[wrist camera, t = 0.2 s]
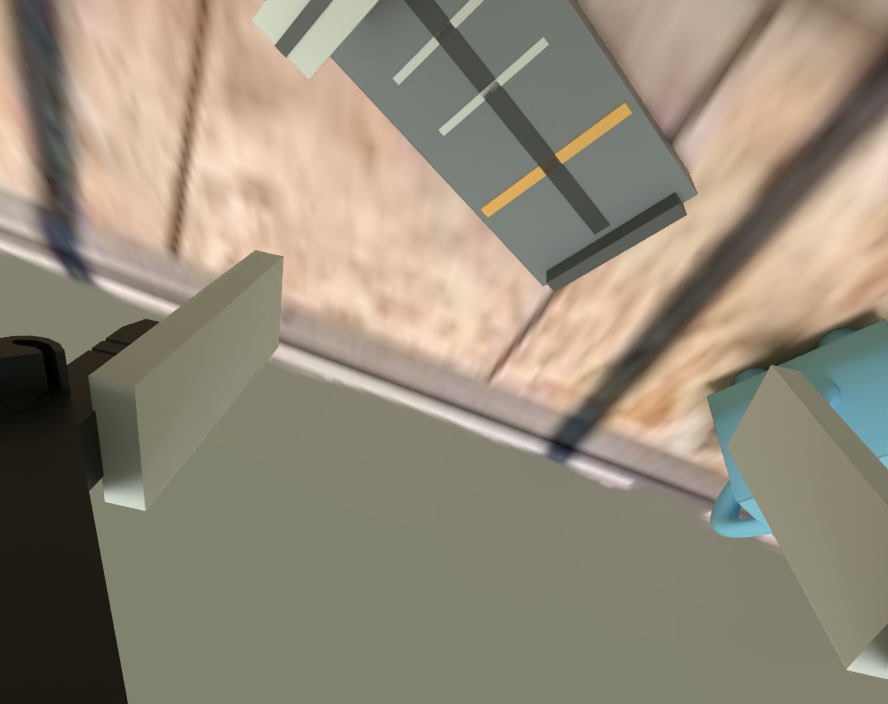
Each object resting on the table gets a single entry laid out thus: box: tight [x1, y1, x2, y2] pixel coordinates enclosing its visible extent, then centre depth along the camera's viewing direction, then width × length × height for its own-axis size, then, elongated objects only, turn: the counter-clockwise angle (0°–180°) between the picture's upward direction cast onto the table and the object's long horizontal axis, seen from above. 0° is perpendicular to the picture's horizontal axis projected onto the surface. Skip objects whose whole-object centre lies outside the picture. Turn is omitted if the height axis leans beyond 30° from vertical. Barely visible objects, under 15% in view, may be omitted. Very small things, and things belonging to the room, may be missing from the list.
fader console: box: [330, 0, 697, 292], centre depth 34 cm, size 12×27×4 cm, turn 43°
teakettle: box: [707, 319, 888, 538], centre depth 44 cm, size 19×19×15 cm
